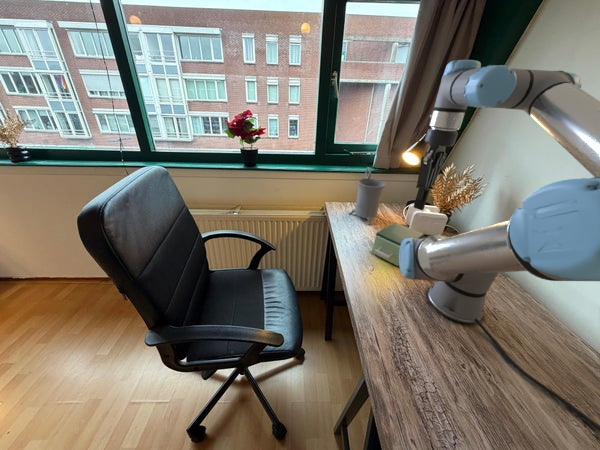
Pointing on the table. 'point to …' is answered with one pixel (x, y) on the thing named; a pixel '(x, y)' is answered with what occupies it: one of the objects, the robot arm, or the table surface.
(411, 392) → the table surface
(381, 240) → the drawer
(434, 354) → the table surface
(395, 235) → the cabinet
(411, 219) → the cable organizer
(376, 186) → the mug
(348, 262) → the table surface
